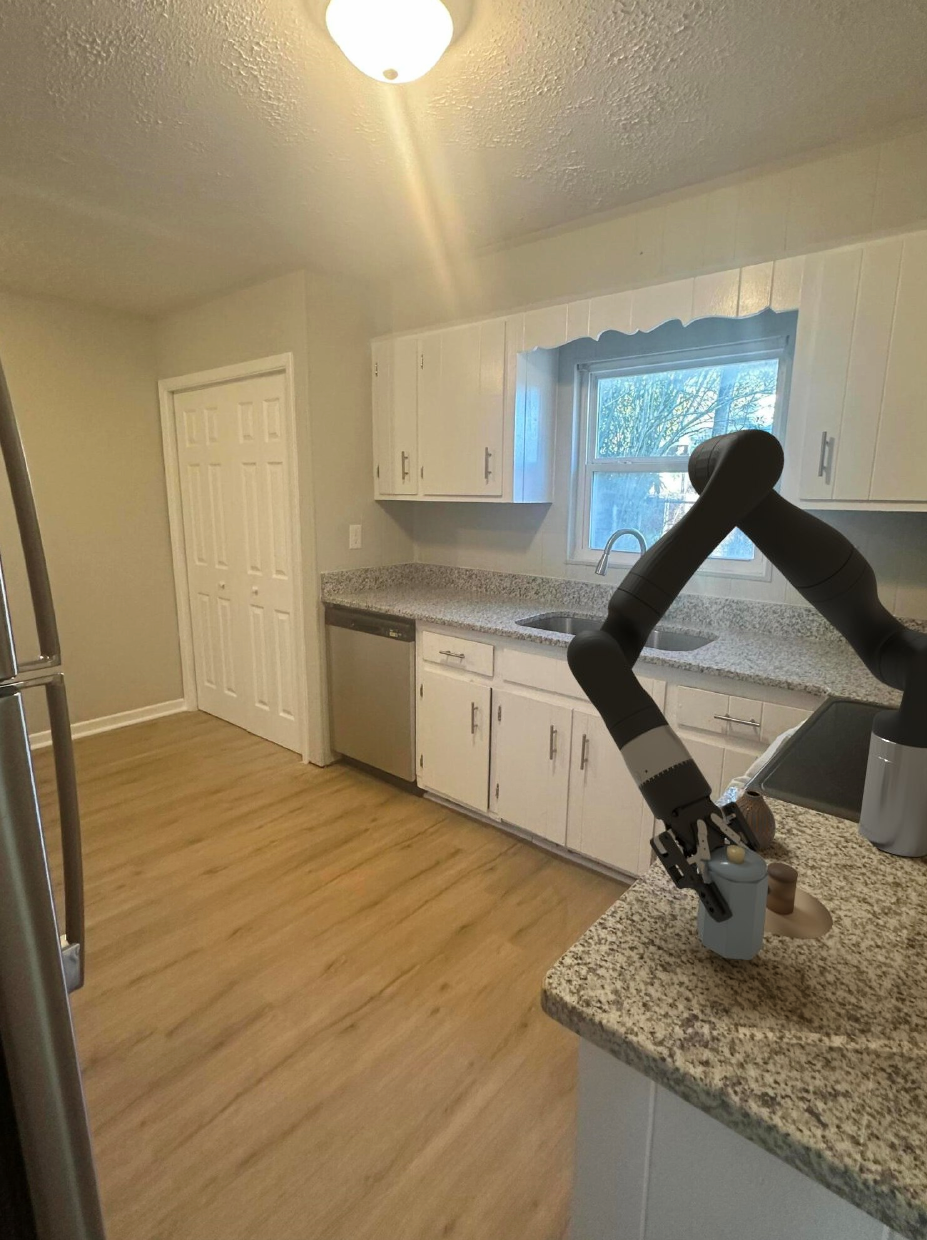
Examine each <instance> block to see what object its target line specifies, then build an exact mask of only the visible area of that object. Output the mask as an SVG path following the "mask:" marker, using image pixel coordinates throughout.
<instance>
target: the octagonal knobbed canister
mask: <svg viewBox="0 0 927 1240" xmlns="http://www.w3.org/2000/svg"><path fill="white" fill-rule="evenodd" d="M710 858H711V859H710V861H708V866H709V869H710V871H709V873H710V874H711V883H713V882H715V884H716V886H717V887H718V889H719V891H720V893H721V894H722V896H723V898H724V899H725V901H726V903H727V905H728V906H729V908H730V910H731V912H732V914H733V916H732V917H731V918H730V919H728V920H725V921H723V922H720V923H718V922H716V921H715V920H714V919H713V918H712V917H711V916H710V915H709V914H708V912H707V910H706V908H705V907H704V905H703V903H702V901H701V899H700V898H699V897H698V907H697V920H696V921H697V922H696V931H697V933H698V937H699V939H700V941H701V944H702V946H703V947H706V948H708V949H709V950H710V951H712V952H714V953H716V954H718V955H719V956H721V957H722V958H725V959H736V960H746V961H747V960H748V961H751V960H752V959H753V958H754V957H755V956H756V955H758V953H760V952H761V950H763V945H764V934H765V933H764V932H765V930H764V924H765V913H766V903H767V892H768V881H769V874H768V872H767V866H768V863H767V862H766V860H765V859H764V857H762V856H761V855H760V854H759V853H758V852H757V851H756V852H754V851H752V850H750V849H747V848H745V847H742V846H736V845H731V844H724V845H722V846H720V847H715V848H714V850H712V851H710Z"/></svg>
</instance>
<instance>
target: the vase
mask: <svg viewBox="0 0 927 1240" xmlns="http://www.w3.org/2000/svg"><path fill="white" fill-rule="evenodd" d="M734 802H735V803H736V804H737V805H738V807H739V809H740V811H741V812H742V814H743V816H744V818H745V819H746V821H747V823H748V825H749V826H750V828H751V830H752V832H753V833H754V835H755V837H756V839H757V840H758V842H759V844H760V849H759V850H757V851H756V852H760V851H765V850H767V849H768V848H769V847H770V846H771V845H772V843H773V841H774V839H775V835H776V830H777V829H776V828H777V826H776V819H775V816H774V813H773V811H772V809H771V808H770V806H769V805H768V804H767V802H766V801H765V799H764V796H763V794H762V793H761V792H760V791H758V790H754V789H753V790H752V789H747V790H744V792H743V794H742V795H741V796H740V797H739V798H738V799H736V800H734ZM740 836H741V838H742V840H743V841H744V843H747V840H746V839H745V837H744V835H743V833H742V832H741V833H740Z"/></svg>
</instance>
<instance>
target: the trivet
mask: <svg viewBox="0 0 927 1240" xmlns="http://www.w3.org/2000/svg"><path fill="white" fill-rule="evenodd" d="M832 927H833V916H832V914H831V912H830V911H829V910H828V908H827V907H826V906H825V905H824V904H823V903H822V901H820V900H819V899H818V898H816V897H815V896H813V895H812V894H810V893H809V892H807V891H805V890H804V889H801V888H799V887H797V886H796V893H795V902H794V910H793V913H791V914H789V915H782V914H777V913H775V912H772V911H771V910H769V909H768V908H767V907H766V913H765V924H764V931H766V932H768V933H771V934H774V935H778V936H782V937H787V938H791V939H792V938H793V939H801V940H802V939H804V940H805V939H816V938H819V937H822V936H824V935H826V934H827V933H829V931H830V930H831V929H832Z"/></svg>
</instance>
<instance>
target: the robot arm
mask: <svg viewBox="0 0 927 1240" xmlns="http://www.w3.org/2000/svg"><path fill="white" fill-rule="evenodd" d="M784 467H785V452H784V450H783V446H782V444H781V443H780V441H779V439H778V438H777V437H776V436H775V435H773V434H772V433H770V432H769V431H767V430H763V429H758V428H750V429H741V430H736V431H733V432H732V431H731V432H727V433H724V434H719V435H715V436H712V437H711V438H707V439H706V440H704V441H701V443H699V444H698V445H697V446H695V448H694V449H693V450H692V452H691V453H690V456H689V459H688V464H687V475H688V479H689V482H690V484H691V486H692V488H693V490H694V491H695V492H696V494H697V495H698V498H697V499H696V501H694V503H693V504H692V506H691V507H690V508H689V509H688V510H687V511H686V512H685V514H684V515H683V516H682V517H681V518H680V519H679V520H678V521H677V522H676V523H675V524H674V525H673V526H672V527H671V528H670V529H669V530H667V532H665V534H663V535H662V536H661V537H660V538H658V540H656V541H655V543H654V542H653V544H652V545H651V546H650V547H649V548H648V549H647V550H646V551H645V552H643V554H642V555H641V556H640V557H639V558H638V560H637V561H636V562H635V563H634V564H633V565H632V567H631V568H630V570H629V571H628V572H627V573H626V576H625V577H624V578H623V580H622V581H621V582H620V584H619V585H618V587H617V588H616V589H615V591H614V592H613V594H612V595H611V597H610V599H609V601H608V605H607V616H606V618H605V620H604V622H603V624H602V625H601V627H600V629H595V628H593V629H585V630H582V631H580V632H579V633H577V634H575V635H574V637H573V638H572V639H571V640H570V642H569V644H568V646H567V651H566V660H567V664H568V668H569V670H570V672H571V673H572V674H571V675H572V676H573V678H574V679H575V680H576V682H577V684H578V686H580V688H581V690H582V692H583V693H584V694H585V695H586V696H587V698H588V700H589V701H590V703H591V704H592V706H594V708H595V709H596V710H597V712H598V713H599V715H600V717H601V718H602V720H603V722H604V725H605V727H606V729H607V731H608V733H609V734H610V736H611V738H612V740H613V742H614V743H615V745H616V747H617V748H618V750H619V752H620V755H621V756H622V759H623V761H624V764H625V766H626V769H627V770H628V773H629V774H630V777H631V778H632V779H633V781H634V783H635V785H636V786H637V788H638V790H639V791H640V794H641V795H642V797H643V799H644V800H645V803H646V804H647V806H648V807H649V809H650V812H651V813H652V814H653V817H654V818H655V819H657V820H659V821H660V820H661V821H662V823H663V825H664V828H665V829H664V831H661V833H658V834H657V835H655V836H654V837H652V838H650V840H649V845H650V846H651V849H652V850H653V852H654V853H655V855H656V856H657V857H658V860H659V861H660V863H661V865H662V866H663V868H664V869H665V871H666V872H667V874H668V876H669V877H670V879H671V880H672V882H673V884H674V885H675V886H676V888H677V889H678V890H683V889H691V890H694V891H695V892H696V894H697V896H698V899H699V898H700V899H701V901H702V903H703V905H704V907H705V908H706V910H707V912H708V914H709V915H710V916H711V917H712V918H713V919H714V920H715V921H716V922H718V923H720V922H723V921H725V920H728V919H730V918H731V917H732V916H733V914H732V912H731V910H730V908H729V906H728V905H727V903H726V901H725V899H724V898H723V896H722V894H721V893H720V891H719V889H718V887H717V886H716V884H715V882H713V883H711V874H710V873H709V871H710V869H709V866H708V861H710V859H711V858H710V851H712V850H714V848H715V847H720V846H722V845H724V844H731V845H736V846H742V847H745V848H747V849H750V850H752V851H754V852H756V853H757V852H758V851H757V850H759V849H760V844H759V842H758V840H757V839H756V837H755V835H754V833H753V832H752V830H751V828H750V826H749V825H748V823H747V821H746V819H745V818H744V816H743V814H742V812H741V811H740V809H739V807H738V805H737V804H736V803H735V801H734V800H732V801H730V802H728V803H725V804H724V805H722V806H718V805H716V804H715V803H714V801H713V800H712V799H711V795H712V793H713V789H712V786H710V784H709V782H708V780H707V779H706V777H705V776H704V774H703V772H702V771H701V769H700V768H699V766H698V764H697V763H696V762H695V759H694V758H693V757H692V755H691V752H690V751H689V750H688V749H687V746H686V745H685V743H683V740H682V739H681V738H680V736H679V735H678V734H677V733H676V732H675V730H674V729H673V728H672V727H671V725H670V723H669V722H668V720H667V718H666V717H665V715H664V714H663V711H661V709H660V707H659V706H658V704H657V703H656V701H655V700H654V699H653V697H652V696H651V695H650V694H649V692H648V691H647V690H646V689H645V688H644V687H643V686H642V684H641V683H640V681H639V679H638V678H637V676H636V674H635V673H634V671H633V668H634V666H635V664H636V663H637V662H638V659H639V657H640V656H641V653H642V652H643V650H644V648H645V646H646V643H647V641H648V640H649V637H650V635H651V633H652V631H653V630H654V628H655V627H656V626H657V624H658V623H659V622H660V621H661V619H662V618H663V617H664V616H665V614H666V613H667V611H668V610H669V609H670V607H671V606H672V604H673V603H674V602H675V600H676V598H677V597H678V596H679V594H680V593H681V592H682V590H683V589H684V587H685V586H686V585H687V583H688V582H689V581H690V579H692V578H693V576H694V574H696V572H697V571H698V569H699V568H700V567H701V566H702V565H703V563H704V562H705V561H706V560H707V559H708V557H710V555H711V554H712V553H713V552H715V550H716V549H717V547H718V546H719V545H720V544H721V543H722V542H723V541H724V539H726V538H727V537H728V535H729V534H731V532H732V531H733V530H734V529H735V528H738V529H739V530H740V531H741V533H743V534H744V535H745V536H746V537H747V538H748V540H750V541H751V543H752V544H753V545H754V546H755V548H757V549H758V551H760V553H762V555H764V557H765V558H767V560H768V561H769V562H770V563H771V564H772V565H773V566H774V567H775V568H776V569H777V570H778V571H779V573H781V575H782V576H783V577H784V578H785V579H786V581H788V582H789V583H790V585H791V586H792V587H793V588H794V589H795V590H796V591H797V592H798V593H799V594H800V595H801V597H803V598H804V599H805V600H806V601H807V602H808V603H809V604H810V605H811V606H812V607H813V608H814V609H816V611H817V612H818V613H820V615H821V616H822V617H823V618H824V619H825V620H826V621H827V622H828V623H829V624H830V625H831V626H832V627H833V628H835V629H836V630H837V631H838V632H839V633H840V634H841V635H842V636H843V637H844V639H845V640H846V641H847V643H849V646H850V647H851V648H852V649H853V651H854V652H855V653H856V655H857V656H858V658H859V659H860V661H861V662H862V663H863V664H864V666H865V667H866V669H867V670H868V671H869V672H870V673H871V674H872V676H873V677H875V679H876V680H877V681H879V682H880V683H882V684H884V685H885V686H887V687H890V688H892V689H894V690H898V691H901V692H902V697H901V701H900V705H899V707H898V709H888V710H887V709H886V710H881V711H878V712H877V713H876V714H875V715H874V717H873V720H872V727H871V735H870V742H869V751H868V757H867V759H868V760H867V764H866V765H867V766H866V773H865V774H866V775H865V781H864V788H863V797H862V803H861V805H862V806H861V809H860V811H861V812H860V818H859V825H858V826H859V827H858V836H863V837H864V838H865V839H866V840H867V841H868V842H869V843H870V844H871V845H872V846H873V847H874V848H876V849H878V850H881V851H882V852H883V851H884V852H887V853H890V854H894V855H898V856H901V857H914V858H915V857H924V856H927V633H926V632H921V631H919V630H914V629H911V628H909V627H908V626H906V625H904V624H903V623H902V622H901V621H899V620H898V619H897V618H896V617H895V616H894V615H893V614H891V612H890V611H889V610H888V609H887V608H886V607H885V606H884V604H882V602H881V600H880V598H879V596H878V595H879V592H878V584H877V577H876V573H875V572H874V569H873V567H872V566H871V564H870V562H868V560H867V559H866V557H865V556H864V555H863V554H862V553H861V552H860V551H859V550H858V549H857V547H855V546H854V544H852V542H851V541H850V540H849V539H848V538H847V537H846V536H845V535H844V534H842V532H840V531H839V530H838V529H836V528H835V527H833V526H832V525H830V524H828V523H826V522H825V521H823V520H822V519H820V518H818V517H816V516H815V515H812V513H809V512H807V511H806V510H804V509H802V508H800V507H798V506H796V505H795V504H793V503H791V502H790V501H788V500H787V499H786V498H784V497H783V496H782V495H781V494H780V493H779V492H778V491H777V490H775V488H774V487H775V486H776V485H777V484H778V482H779V480H780V478H781V476H782V474H783V470H784ZM741 832H742V833H743V835H744V837H745V839H746V840H747V843H744V841H743V840H742V838H741V836H740V833H741ZM770 893H771V890H770V888H769V885H768V892H767V895H769V894H770Z"/></svg>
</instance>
